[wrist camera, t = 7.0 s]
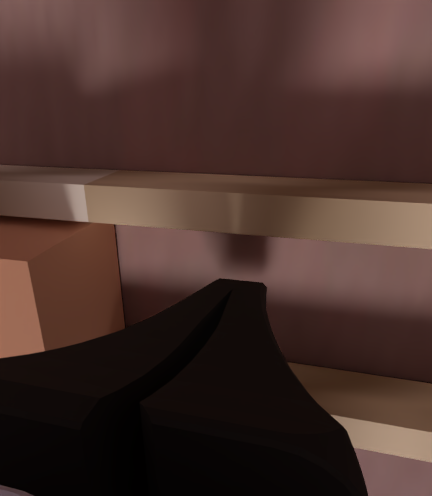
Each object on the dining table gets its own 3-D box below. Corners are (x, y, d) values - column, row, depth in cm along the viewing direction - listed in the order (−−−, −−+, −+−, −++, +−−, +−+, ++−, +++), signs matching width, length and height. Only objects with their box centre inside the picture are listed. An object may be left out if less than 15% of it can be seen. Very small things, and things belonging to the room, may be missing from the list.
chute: (570, 190, 9) (666, 231, 7) (496, 421, 12) (543, 518, 9) (-61, 162, 14) (-156, 181, 11) (-16, 337, 16) (-84, 387, 14)
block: (112, 211, 13) (27, 261, 9) (125, 331, 14) (57, 414, 11) (-21, 202, 14) (-143, 243, 10) (5, 314, 16) (-93, 383, 12)
